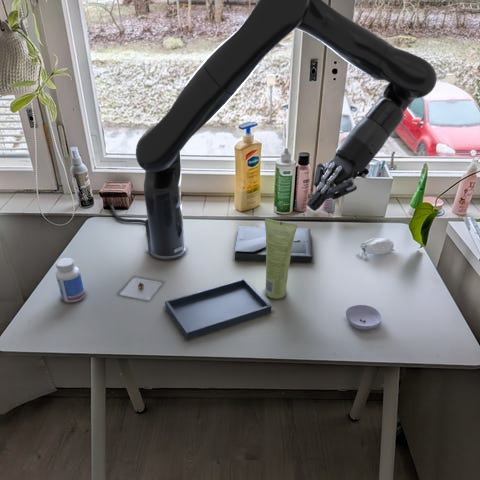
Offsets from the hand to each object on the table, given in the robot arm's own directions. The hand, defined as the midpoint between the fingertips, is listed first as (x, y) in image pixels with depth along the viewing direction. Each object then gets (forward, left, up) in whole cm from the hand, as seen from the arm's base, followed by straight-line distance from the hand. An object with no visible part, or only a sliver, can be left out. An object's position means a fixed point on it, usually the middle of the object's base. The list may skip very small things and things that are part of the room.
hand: (310, 208), depth 113 cm
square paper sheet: (-34, -22, -21) cm, 46 cm away
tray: (-13, -20, -21) cm, 32 cm away
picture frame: (-15, +13, -21) cm, 29 cm away
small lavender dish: (+18, -7, -21) cm, 29 cm away
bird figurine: (+11, +24, -21) cm, 34 cm away
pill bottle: (-46, -33, -21) cm, 60 cm away
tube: (-4, -7, -21) cm, 23 cm away
